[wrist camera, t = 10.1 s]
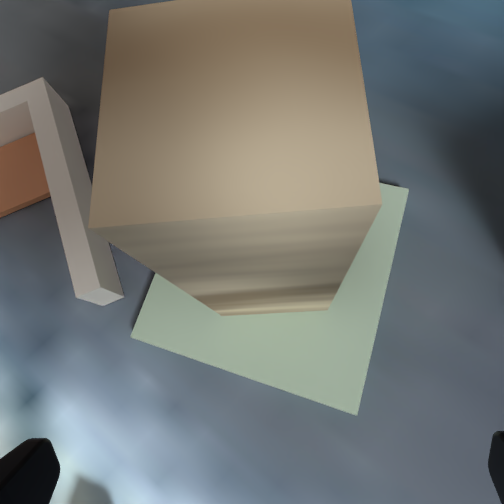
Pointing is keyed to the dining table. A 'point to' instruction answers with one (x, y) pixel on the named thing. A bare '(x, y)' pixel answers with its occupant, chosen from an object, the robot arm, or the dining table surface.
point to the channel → (54, 182)
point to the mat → (289, 325)
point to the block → (236, 149)
